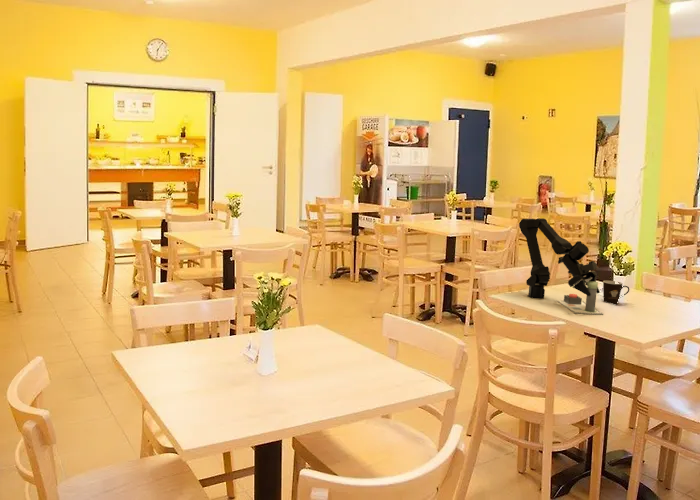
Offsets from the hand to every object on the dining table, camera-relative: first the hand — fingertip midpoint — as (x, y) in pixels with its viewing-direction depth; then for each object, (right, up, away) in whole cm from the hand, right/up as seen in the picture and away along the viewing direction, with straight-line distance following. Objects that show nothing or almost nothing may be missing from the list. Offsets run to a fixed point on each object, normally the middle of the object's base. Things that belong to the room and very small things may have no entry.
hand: (594, 294), depth 314 cm
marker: (-1, -8, +2) cm, 8 cm away
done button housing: (-4, -5, +17) cm, 18 cm away
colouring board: (-4, -7, +9) cm, 12 cm away
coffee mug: (+17, -6, +23) cm, 30 cm away
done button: (-4, -3, +17) cm, 18 cm away
